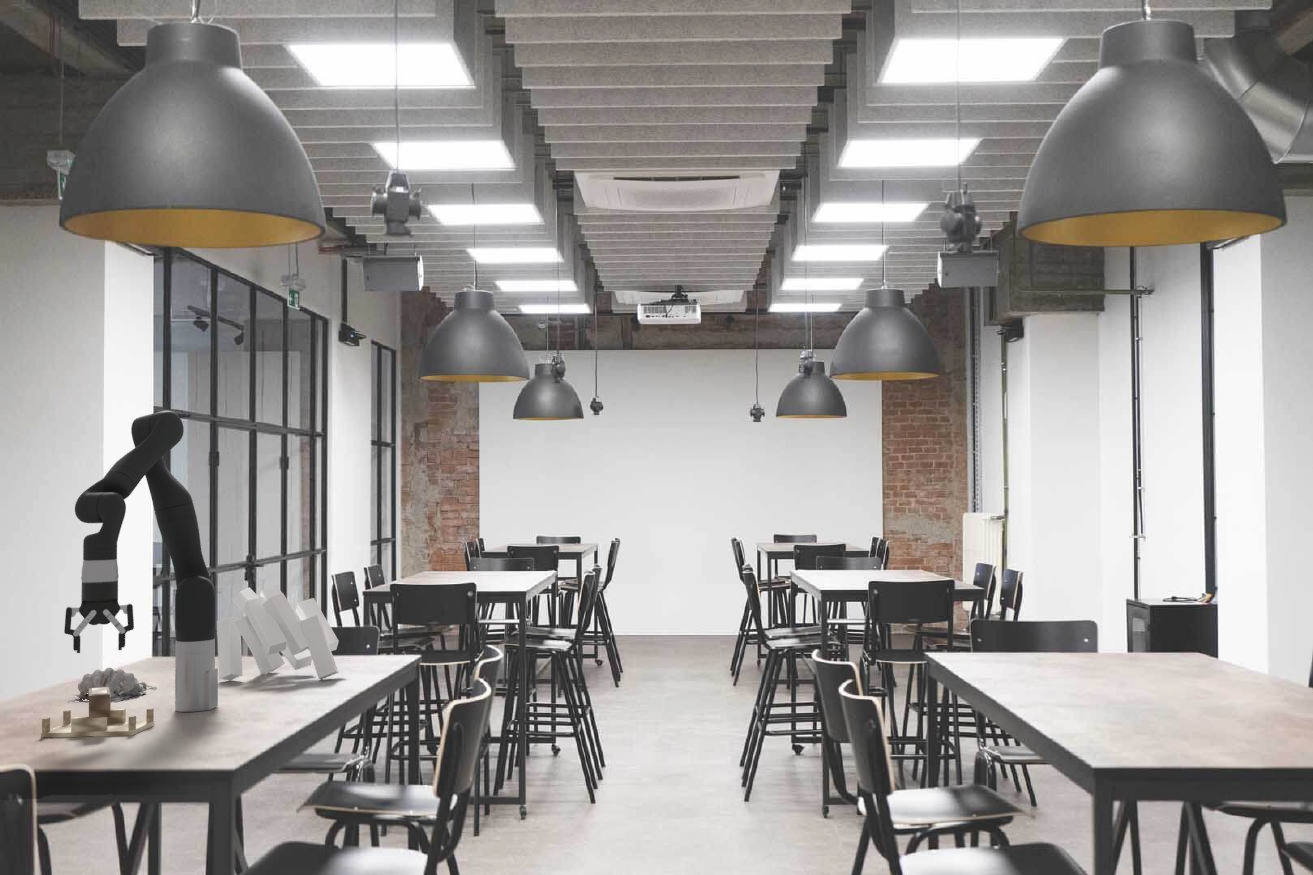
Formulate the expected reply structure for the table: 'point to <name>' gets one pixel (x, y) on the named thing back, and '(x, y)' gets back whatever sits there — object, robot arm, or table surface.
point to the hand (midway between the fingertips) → (99, 651)
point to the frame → (99, 702)
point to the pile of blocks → (275, 635)
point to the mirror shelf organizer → (98, 725)
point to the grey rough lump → (111, 684)
